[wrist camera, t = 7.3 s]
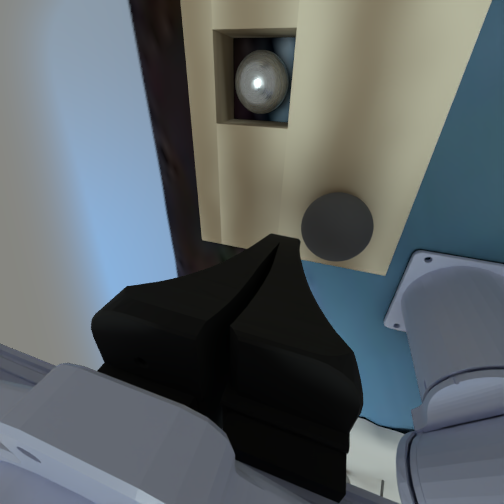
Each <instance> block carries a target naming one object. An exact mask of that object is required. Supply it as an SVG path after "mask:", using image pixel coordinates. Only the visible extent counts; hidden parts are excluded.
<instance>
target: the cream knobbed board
mask: <svg viewBox="0 0 504 504" xmlns="http://www.w3.org/2000/svg"><path fill="white" fill-rule="evenodd" d="M491 1H492V0H181V11H182V22H183V34H184V45H185V56H186V67H187V78H188V89H189V100H190V111H191V122H192V134H193V145H194V156H195V167H196V178H197V189H198V200H199V211H200V222H201V234H202V240H205V241H210V242H215V243H220V244H225V245H231V246H236V247H241V248H246V249H248V248H249V247H251V246H253V245H254V244H256V243H257V242H258V241H260V240H261V239H263V238H264V237H266V236H267V235H269V234H271V233H272V234H277V235H282V236H287V237H292V238H297V239H299V240H300V241H301V243H300V257H301V259H302V260H307V261H312V262H317V263H322V264H327V265H332V266H338V267H343V268H348V269H353V270H358V271H363V272H368V273H373V274H378V275H383V276H385V275H386V273H387V270H388V267H389V265H390V262H391V260H392V257H393V254H394V252H395V249H396V247H397V244H398V242H399V239H400V236H401V234H402V231H403V229H404V226H405V223H406V221H407V218H408V216H409V213H410V211H411V208H412V205H413V203H414V200H415V198H416V195H417V192H418V190H419V187H420V185H421V182H422V180H423V177H424V174H425V172H426V169H427V167H428V164H429V161H430V159H431V156H432V154H433V151H434V149H435V146H436V143H437V141H438V138H439V136H440V133H441V130H442V128H443V125H444V123H445V120H446V118H447V115H448V112H449V110H450V107H451V105H452V102H453V99H454V97H455V94H456V92H457V89H458V87H459V84H460V81H461V79H462V76H463V74H464V71H465V68H466V66H467V63H468V61H469V58H470V55H471V53H472V50H473V48H474V45H475V43H476V40H477V37H478V35H479V32H480V30H481V27H482V24H483V22H484V19H485V17H486V14H487V12H488V9H489V6H490V4H491ZM266 37H296V43H295V54H294V65H293V76H292V87H291V97H290V108H289V119H288V122H274V121H259V120H244V119H234V65H233V38H266ZM334 192H343V193H348V194H351V195H354V196H356V197H358V198H359V199H361V200H362V201H363V202H364V203H365V204H366V205H367V207H368V208H369V210H370V212H371V214H372V217H373V223H374V229H373V235H372V238H371V240H370V242H369V244H368V245H367V247H366V248H365V249H364V250H363V251H362V252H361V253H360V254H358V255H357V256H355V257H353V258H351V259H349V260H345V261H338V262H335V261H328V260H324V259H321V258H319V257H318V256H316V255H315V254H313V253H312V252H311V251H310V250H309V249H308V247H307V246H306V244H305V243H304V240H303V238H302V234H301V223H302V218H303V215H304V213H305V211H306V209H307V208H308V207H309V205H310V204H311V203H312V202H313V201H315V200H316V199H317V198H319V197H321V196H323V195H325V194H328V193H334Z"/></svg>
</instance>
